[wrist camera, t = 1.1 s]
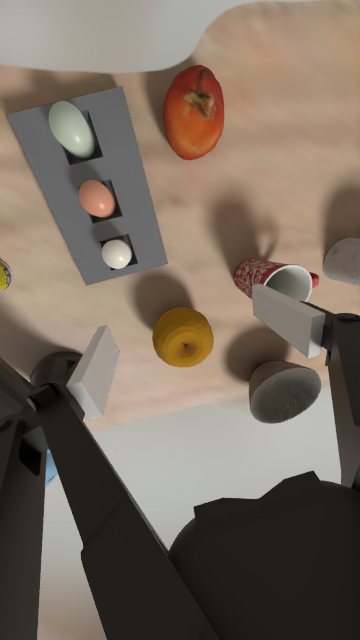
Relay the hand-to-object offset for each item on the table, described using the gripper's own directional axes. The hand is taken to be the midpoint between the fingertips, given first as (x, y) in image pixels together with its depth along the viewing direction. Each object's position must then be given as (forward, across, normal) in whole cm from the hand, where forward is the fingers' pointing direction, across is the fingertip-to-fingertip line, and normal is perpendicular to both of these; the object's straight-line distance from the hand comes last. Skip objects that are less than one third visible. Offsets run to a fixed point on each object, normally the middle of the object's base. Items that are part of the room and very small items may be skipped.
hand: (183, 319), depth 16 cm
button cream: (+23, -7, +5) cm, 25 cm away
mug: (+26, +20, -7) cm, 34 cm away
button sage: (+23, -7, +21) cm, 32 cm away
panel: (+26, -7, +13) cm, 30 cm away
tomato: (+26, +10, +20) cm, 35 cm away
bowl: (+26, +21, -37) cm, 50 cm away
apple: (+27, 0, -14) cm, 30 cm away
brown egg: (+23, -7, +13) cm, 28 cm away
